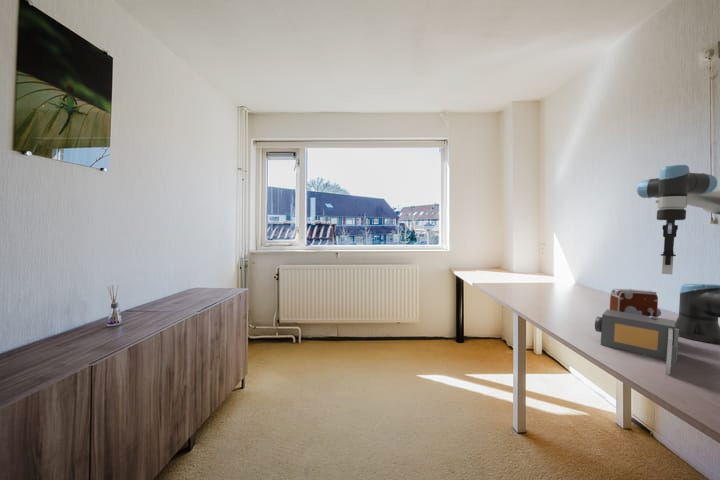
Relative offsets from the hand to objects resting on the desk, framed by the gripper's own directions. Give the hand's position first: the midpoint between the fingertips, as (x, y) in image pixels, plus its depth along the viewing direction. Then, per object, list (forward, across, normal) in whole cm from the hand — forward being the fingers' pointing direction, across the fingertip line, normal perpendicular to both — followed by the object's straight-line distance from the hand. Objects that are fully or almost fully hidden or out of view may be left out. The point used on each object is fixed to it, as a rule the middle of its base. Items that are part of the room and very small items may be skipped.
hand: (667, 273), depth 115 cm
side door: (+29, +16, +2) cm, 33 cm away
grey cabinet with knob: (+29, +1, -7) cm, 30 cm away
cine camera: (+30, -18, -8) cm, 35 cm away
